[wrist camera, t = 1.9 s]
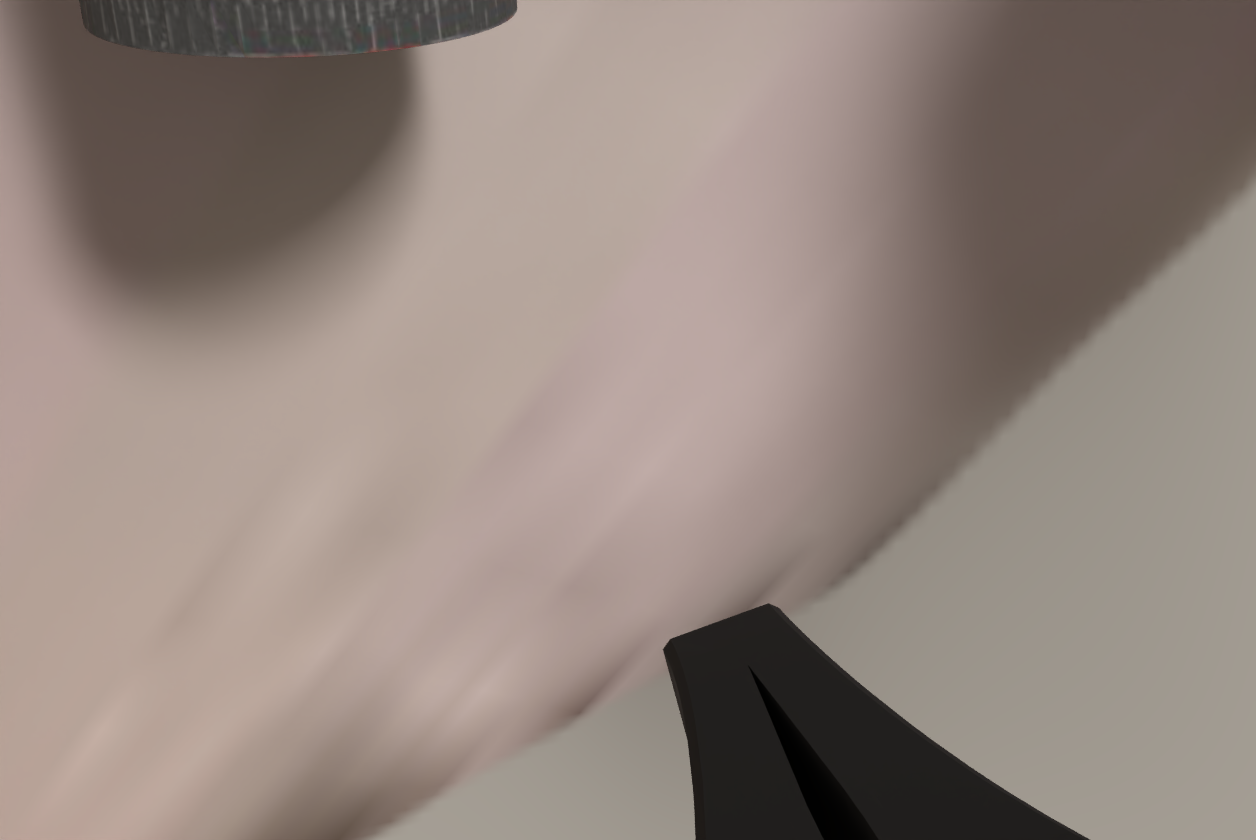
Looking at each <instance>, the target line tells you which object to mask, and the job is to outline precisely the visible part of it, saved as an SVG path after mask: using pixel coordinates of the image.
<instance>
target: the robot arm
mask: <svg viewBox="0 0 1256 840" xmlns="http://www.w3.org/2000/svg"><path fill="white" fill-rule="evenodd" d="M663 651H664V655H665V659H666V662H667V666H668V670H669V673H670V677H671V681H672V684H673V688H674V692H675V696H676V699H677V703H678V706H679V710H680V714H681V718H682V721H683V725H684V729H685V732H686V736H687V740H688V748H689V757H690V765H691V774H692V784H693V794H694V809H695V835H696V840H1089V839H1088V838H1086V837H1084V836H1082V835H1081V834H1078V833H1077V832H1075V831H1074V830H1072V829H1070V828H1068V827H1066V826H1065V825H1063V824H1061V823H1059V822H1057V821H1056V820H1054V819H1052V818H1050V817H1049V816H1047V815H1045V814H1044V813H1042V812H1040V811H1039V810H1037V809H1035V808H1034V807H1032V806H1031V805H1029V804H1027V803H1026V802H1024V801H1022V800H1020V799H1019V798H1017V797H1016V796H1014V795H1012V794H1011V793H1009V792H1007V791H1006V790H1004V789H1003V788H1001V787H1000V786H998V785H997V784H995V783H994V782H992V781H990V780H989V779H987V778H986V777H984V776H983V775H981V774H980V773H978V772H977V771H975V770H974V769H972V768H971V767H969V766H968V765H967V764H965V763H964V762H962V761H961V760H960V759H958V758H957V757H955V756H954V755H952V754H951V753H949V752H948V751H947V750H945V749H944V748H942V747H941V746H940V745H938V744H937V743H935V742H934V741H933V740H931V739H930V738H928V737H927V736H926V735H924V734H923V733H922V732H921V731H919V730H918V729H916V728H915V727H914V726H912V725H911V724H910V723H909V722H907V721H906V720H905V719H903V718H902V717H901V716H899V715H898V714H897V713H896V712H895V711H893V710H892V709H891V708H889V707H888V706H887V705H886V704H884V703H883V702H882V701H881V700H879V699H878V698H877V697H876V696H874V695H873V694H872V693H871V692H869V691H868V690H867V689H866V688H865V687H863V686H862V685H861V684H860V683H859V682H857V681H856V680H855V679H854V678H852V677H851V676H850V675H849V674H848V673H847V672H846V671H844V670H843V669H842V668H841V667H840V666H839V665H838V664H837V663H835V662H834V661H833V660H832V659H831V658H830V657H829V656H827V655H826V654H825V653H824V652H823V651H822V650H821V649H820V648H819V647H818V646H817V645H815V644H814V643H813V642H812V641H811V640H810V639H809V638H808V637H807V636H806V635H805V634H804V633H803V632H802V631H801V630H800V629H799V628H798V627H797V626H796V625H795V624H794V623H793V622H792V621H791V620H790V619H789V618H788V617H787V616H786V615H785V614H784V613H783V612H782V611H781V610H780V609H779V608H778V607H776V606H773V605H771V604H769V603H768V604H765V605H763V606H760V607H757V608H754V609H752V610H749V611H746V612H743V613H741V614H738V615H735V616H732V617H730V618H727V619H724V620H721V621H719V622H716V623H713V624H710V625H708V626H705V627H702V628H699V629H697V630H694V631H691V632H688V633H686V634H683V635H680V636H677V637H675V638H672V639H670V640H669V642H668V643H667V645H666V646H665V647H664V649H663Z"/></svg>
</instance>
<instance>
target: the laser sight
mask: <svg viewBox="0 0 1256 840" xmlns="http://www.w3.org/2000/svg"><path fill="white" fill-rule="evenodd" d="M79 2H80V7H81V13H82V18H83V23H84V26H85V28H86V29H87V30H88V31H89V32H90V33H92V34H93V35H95V36H97V37H99V38H102V39H104V40H106V41H110V42H113V43H116V44H120V45H124V46H129V47H134V48H139V49H145V50H151V51H158V52H166V53H175V54H186V55H199V56H216V57H254V58H275V57H311V56H331V55H346V54H358V53H369V52H379V51H387V50H396V49H403V48H410V47H417V46H423V45H429V44H434V43H440V42H445V41H449V40H454V39H459V38H462V37H466V36H470V35H474V34H477V33H480V32H483V31H486V30H489V29H491V28H494V27H496V26H499V25H501V24H502V23H504V22H506V21H508V20H509V19H510V18H512V17H513V16H514V14H515V13H516V11H517V0H79Z"/></svg>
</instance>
